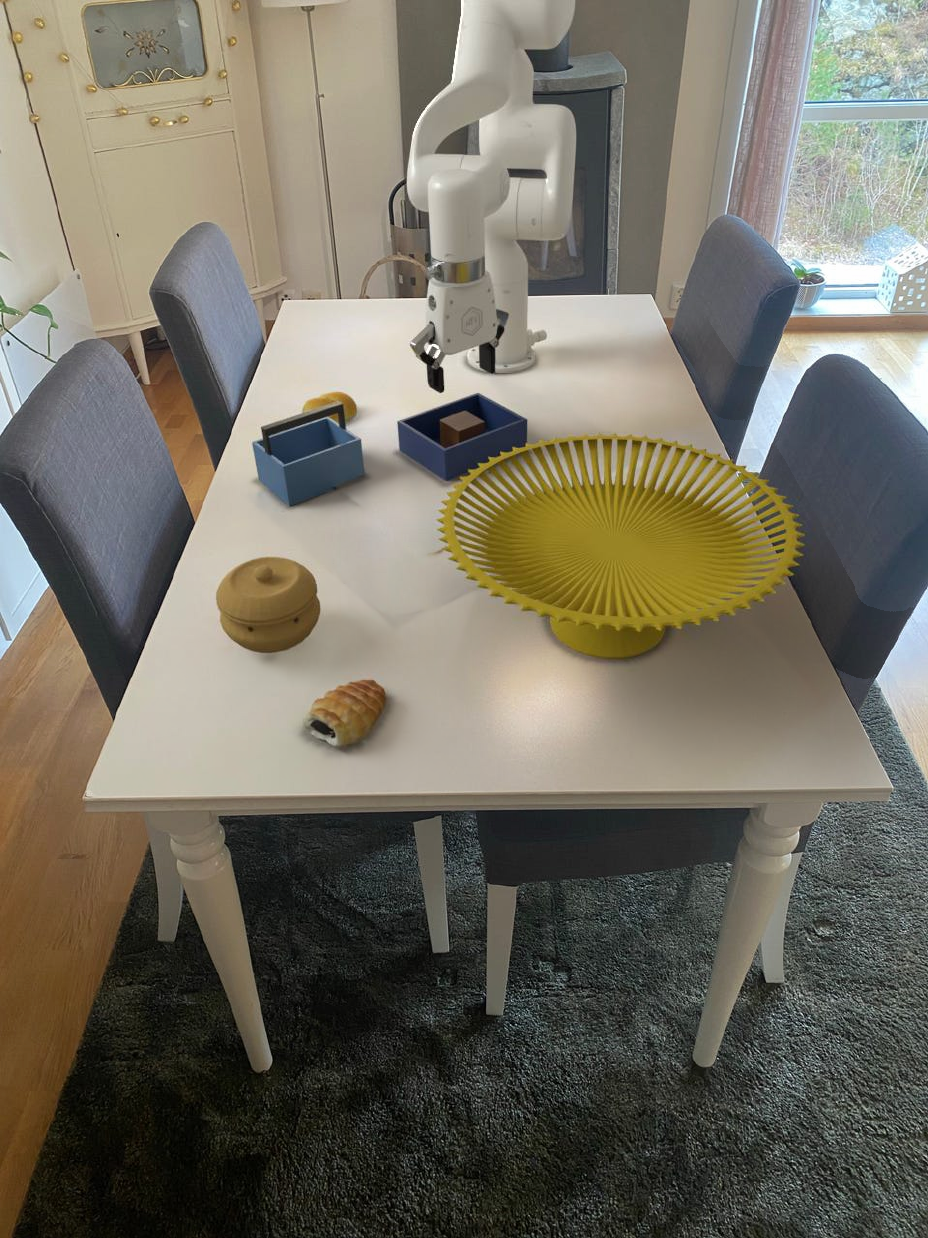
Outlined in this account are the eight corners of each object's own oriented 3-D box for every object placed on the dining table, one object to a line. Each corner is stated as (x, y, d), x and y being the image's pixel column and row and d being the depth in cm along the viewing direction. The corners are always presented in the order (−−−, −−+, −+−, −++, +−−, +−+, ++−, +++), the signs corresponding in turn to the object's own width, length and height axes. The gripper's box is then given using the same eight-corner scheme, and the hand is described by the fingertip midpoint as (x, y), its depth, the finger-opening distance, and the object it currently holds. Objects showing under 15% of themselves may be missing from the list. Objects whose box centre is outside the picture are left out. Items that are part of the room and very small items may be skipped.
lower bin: (478, 423, 156) (478, 392, 153) (527, 451, 148) (527, 419, 145) (399, 453, 149) (397, 421, 145) (445, 484, 141) (444, 450, 137)
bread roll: (366, 415, 160) (364, 393, 157) (326, 433, 155) (323, 411, 152) (334, 401, 164) (332, 379, 162) (294, 418, 159) (291, 396, 157)
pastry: (356, 682, 107) (353, 657, 104) (403, 706, 104) (401, 680, 101) (299, 732, 101) (295, 706, 98) (347, 758, 98) (344, 732, 95)
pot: (221, 616, 117) (206, 549, 111) (315, 598, 119) (305, 532, 113) (230, 676, 108) (213, 607, 102) (331, 656, 110) (321, 587, 104)
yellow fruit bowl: (806, 569, 122) (831, 466, 112) (739, 788, 93) (765, 674, 84) (516, 506, 135) (517, 410, 126) (381, 679, 107) (369, 572, 98)
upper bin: (332, 453, 149) (324, 391, 143) (365, 477, 143) (358, 413, 136) (258, 480, 143) (247, 416, 137) (289, 506, 137) (278, 440, 130)
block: (485, 450, 148) (484, 421, 144) (459, 460, 145) (458, 431, 142) (465, 438, 151) (465, 410, 148) (440, 448, 148) (439, 419, 145)
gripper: (423, 290, 126) (430, 406, 137) (522, 259, 134) (521, 371, 145) (392, 274, 131) (401, 388, 142) (490, 245, 139) (491, 355, 150)
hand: (462, 379), depth 144 cm, fingers open, 9 cm apart
